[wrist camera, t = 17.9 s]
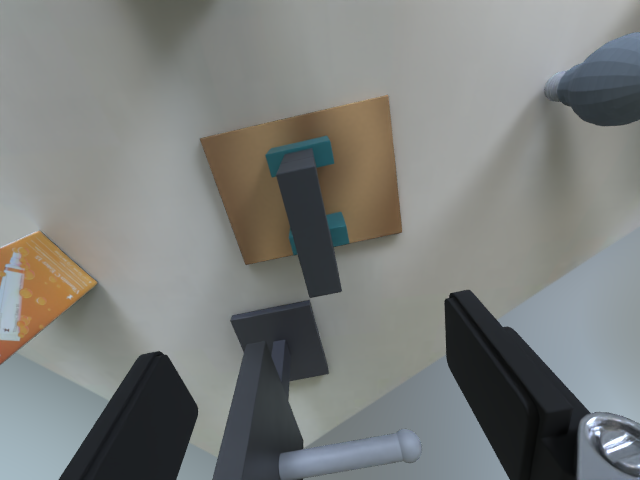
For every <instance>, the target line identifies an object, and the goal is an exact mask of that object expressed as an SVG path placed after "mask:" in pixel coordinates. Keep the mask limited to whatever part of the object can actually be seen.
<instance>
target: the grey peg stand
mask: <svg viewBox="0 0 640 480" xmlns="http://www.w3.org/2000/svg"><path fill="white" fill-rule="evenodd" d="M230 321H231V323H232V326H233V328H234V330H235V333H236V335H237V337H238V340H239V342H240V344H241V347H242V349H243V351H244V356H243V359H242V363H241V367H240V371H239V375H238V379H237V383H236V387H235V391H234V395H233V399H232V403H231V407H230V411H229V415H228V419H227V423H226V427H225V431H224V435H223V439H222V443H221V447H220V451H219V455H218V459H217V463H216V467H215V472H214V475H213V479H212V480H303V478H308V477H314V476H320V475H326V474H332V473H337V472H343V471H349V470H354V469H361V468H367V467H372V466H378V465H384V464H390V463H396V462H402V461H404V462H406V463H413V462H416V461H417V460H418V459H419V458H420V455H421V453H422V445H421V442H420V439H419V437H418V436H417V435H416V434H415V433H414V432H413V431H411V430H409V429H401V430H399V431H398V432H397V433H393V434H387V435H383V436H377V437H370V438H365V439H359V440H353V441H348V442H342V443H337V444H331V445H325V446H319V447H314V448H308V449H303V438H302V436H301V433H300V431H299V428H298V425H297V423H296V420H295V417H294V415H293V412H292V409H291V407H290V404H289V401H288V397H289V381H293V380H299V379H304V378H309V377H315V376H320V375H325V374H329V371H328V366H327V362H326V358H325V355H324V351H323V347H322V344H321V340H320V336H319V333H318V329H317V326H316V322H315V318H314V315H313V311H312V307H311V304H310V301H309V300H308V301H303V302H298V303H293V304H288V305H283V306H278V307H273V308H268V309H263V310H258V311H253V312H248V313H243V314H238V315H233V316H232V317H231V320H230Z"/></svg>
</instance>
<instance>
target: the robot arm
mask: <svg viewBox="0 0 640 480" xmlns="http://www.w3.org/2000/svg"><path fill="white" fill-rule="evenodd" d="M445 328H446V357H447V363H448V366H449V368H450V370H451V372H452V374H453V376H454V378H455V380H456V381H457V383H458V385H459V387H460V389H461V391H462V393H463V394H464V396H465V398H466V400H467V402H468V403H469V405H470V407H471V409H472V411H473V413H474V414H475V416H476V418H477V420H478V422H479V424H480V426H481V427H482V429H483V431H484V433H485V435H486V437H487V438H488V440H489V442H490V444H491V446H492V448H493V449H494V451H495V453H496V455H497V457H498V459H499V460H500V462H501V464H502V466H503V468H504V470H505V471H506V473H507V475H508V477H509V479H510V480H640V424H639V423H637V422H635V421H633V420H630V419H628V418H626V417H623V416H620V415H616V414H612V413H607V412H595V413H590V412H589V411H588V410H587V409H586V408H585V407H584V405H583V404H582V403H581V402H580V401H579V400H578V399H577V398H576V397H575V396H574V394H573V393H572V392H571V391H570V390H569V389H568V388H567V387H566V386H565V385H564V384H563V382H562V381H561V380H560V379H559V378H558V377H557V376H556V375H555V374H554V373H553V372H552V370H550V368H549V367H548V366H547V365H546V364H545V363H544V362H543V361H542V360H541V359H540V357H539V356H538V355H537V354H536V353H535V352H534V351H533V350H532V349H531V348H530V347H529V345H528V344H527V343H526V342H525V341H524V340H523V339H522V338H521V337H520V336H519V335H518V333H517V332H516V331H514V330H513V329H512V328H510V327H502V326H501V325H500V323H499V322H498V321H497V320H496V319H495V318H494V316H493V315H492V314H491V313H490V312H489V311H488V310H487V309H486V307H485V306H484V305H483V304H482V303H481V302H480V301H479V299H478V298H477V297H476V296H475V295H474V294H473V293H472V292H471V291H470V290H464V291H459V292H454V293H450V295H449V298H448V299H445ZM197 416H198V407H197V404H196V403H195V401H194V399H193V398H192V396H191V394H190V393H189V391H188V389H187V387H186V386H185V384H184V382H183V381H182V379H181V377H180V376H179V374H178V372H177V371H176V369H175V367H174V366H173V364H172V362H171V360H170V359H169V357H168V356H167V355H164V354H163V353H162V352H160V351H157V352H152V353H147V354H142V355H140V356H139V357H138V358H137V360H136V361H135V363H134V364H133V366H132V368H131V369H130V371H129V372H128V374H127V375H126V377H125V378H124V380H123V381H122V383H121V384H120V386H119V388H118V389H117V391H116V392H115V394H114V395H113V397H112V398H111V400H110V401H109V403H108V404H107V406H106V408H105V409H104V411H103V412H102V414H101V415H100V417H99V418H98V420H97V421H96V423H95V425H94V426H93V428H92V429H91V431H90V432H89V434H88V435H87V437H86V438H85V440H84V441H83V443H82V445H81V446H80V448H79V449H78V451H77V452H76V454H75V455H74V457H73V458H72V460H71V461H70V463H69V465H68V466H67V468H66V469H65V471H64V472H63V474H62V475H61V477H60V479H59V480H176V478H177V476H178V473H179V470H180V467H181V464H182V461H183V458H184V455H185V452H186V449H187V446H188V443H189V440H190V437H191V434H192V431H193V428H194V426H195V423H196V420H197Z"/></svg>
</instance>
